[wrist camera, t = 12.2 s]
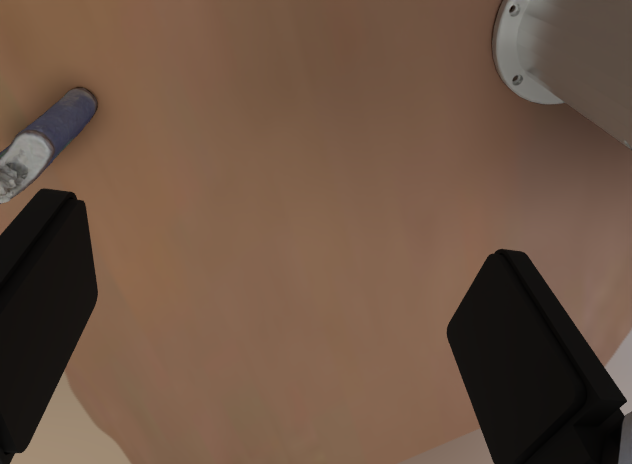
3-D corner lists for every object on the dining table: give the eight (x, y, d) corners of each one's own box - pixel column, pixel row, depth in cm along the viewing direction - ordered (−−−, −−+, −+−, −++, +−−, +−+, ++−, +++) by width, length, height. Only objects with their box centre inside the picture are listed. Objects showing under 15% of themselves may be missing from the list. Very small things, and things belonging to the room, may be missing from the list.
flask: (80, 79, 34) (13, 137, 26) (109, 108, 36) (55, 171, 28) (11, 141, 37) (-70, 211, 29) (41, 165, 39) (-27, 238, 30)
